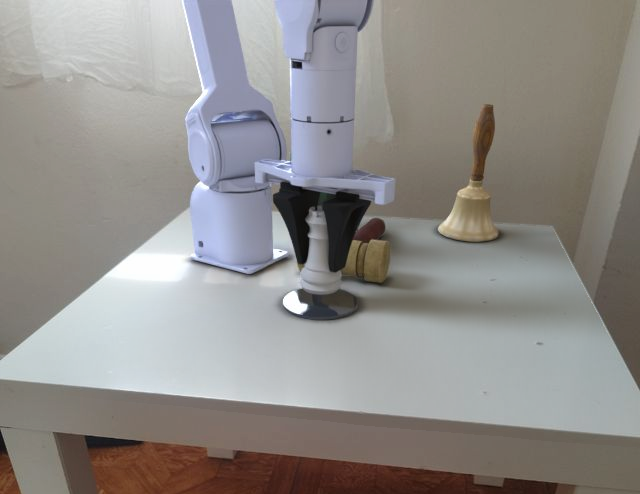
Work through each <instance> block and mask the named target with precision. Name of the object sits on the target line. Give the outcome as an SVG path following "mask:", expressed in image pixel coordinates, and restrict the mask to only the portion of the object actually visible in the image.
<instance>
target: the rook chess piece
mask: <svg viewBox="0 0 640 494" xmlns="http://www.w3.org/2000/svg"><path fill="white" fill-rule="evenodd" d="M305 220H306V222H307V223H308V225H309V226H310V231H309V233H308V234H307V235H308V237H309V251H308V257H307V261H306V262H305V264H304V265H305V267H304V268H303V269H302V270H301V272H300V273H299V275H300V278H301V280H299V285H300V288H301V289H302V288H303V289H304V290H305V291H306V292H308V293H312V294H319V295H322V294H330V293H334V292H336V291H338V289H341V287H342V285H343V282H342V280H341V278H342V276H343V275H342V274H341V271H338V272H335V273H334V272H330V270H329V263H328V253H329V239H328V230H327V223H326V218H325V214H324V211H323V210H322V206H317V211H315V207H310V209H309V214H308V216H307V217H306V218H305Z"/></svg>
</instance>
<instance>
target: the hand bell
mask: <svg viewBox="0 0 640 494" xmlns="http://www.w3.org/2000/svg"><path fill="white" fill-rule="evenodd" d="M495 132H496V121H495V113H494V105H493V104H490V103H489V104H488V103H487V104H482V107H481V109H480V113H479V114H478V117H477V119H476V121H475V124H474V128H473V134H472V149H473V162H472V168H471V172H470V177H469V183H468V186H466V187H464V188H462V189H459V190H458V192H457V193H456V198H455V201H454V204H453V207H452V210H451V212H450V214H449V215H448V216H447V218H446V219H445V220H444V221H442V222H441V223H440V224H439V226H438V228H437V231H438V233H439V234H441V235H442V236H444V237H446V238H448V239H451V240H455V241H461V242H472V243H477V242H478V243H480V242H489V241H493V240H495V239H497V238H498V237H499V230H498V228H497V226H495V224H494V221H493V219H492V215H491V214H492V213H491V198H492V196H491V193H490V192H489V191H488V190H486V189H485V188H484V187H483V182H484V181H483V180H484V175H485V168H486V160H487V157H488V155H489V152H490V150H491V147H492V145H493V141H494V136H495Z"/></svg>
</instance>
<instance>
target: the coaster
mask: <svg viewBox="0 0 640 494" xmlns="http://www.w3.org/2000/svg"><path fill="white" fill-rule="evenodd" d="M282 306H283V309H284V310H285V311H286V312H288V313H289V314H290V315H293V316H296V317H298V318H302V319H308V320H316V321H326V320H327V321H328V320H336V319H340V318H344V317H347V316H349V315H351V314H353V313H354V312H355V311H356V310H357V309H358V308H359V300H358V298H357V297H356V295H354V294H353V293H351V292H349V291H347V290H345V289H341V288H339V289H338V291H336V292H334V293H330V294H322V295H319V294H312V293H308V292H306V291H305V290H304V289H303V288H302V287H301V288H299V289H295V290H292V291H291V292H289V293H287V294H286V295H284V297H283V299H282Z"/></svg>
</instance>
